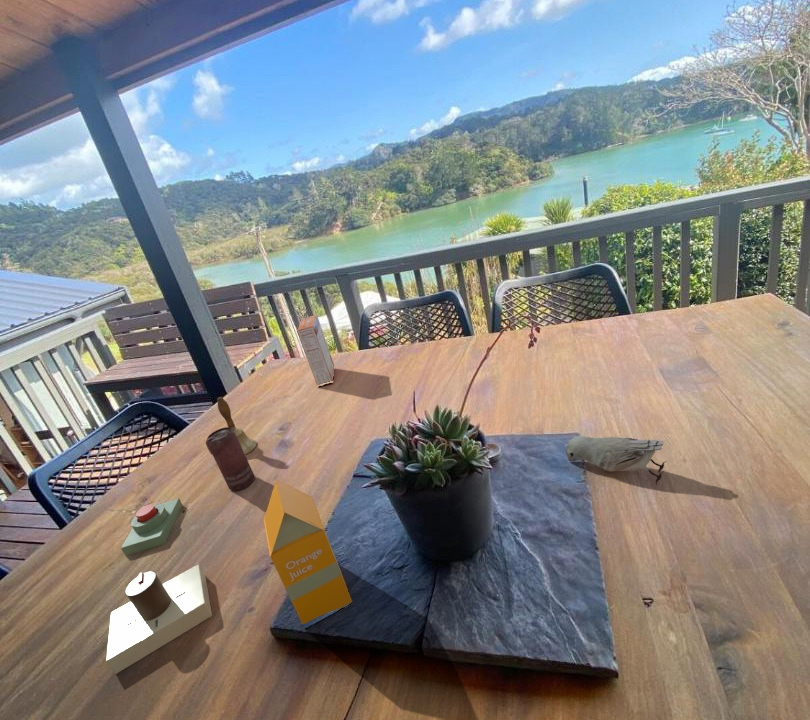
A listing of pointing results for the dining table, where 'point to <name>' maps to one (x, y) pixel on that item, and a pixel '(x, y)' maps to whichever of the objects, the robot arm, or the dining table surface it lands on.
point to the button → (146, 513)
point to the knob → (148, 595)
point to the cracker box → (316, 349)
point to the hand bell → (244, 441)
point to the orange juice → (303, 553)
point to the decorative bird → (615, 453)
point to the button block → (152, 528)
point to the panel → (158, 620)
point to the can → (230, 458)
